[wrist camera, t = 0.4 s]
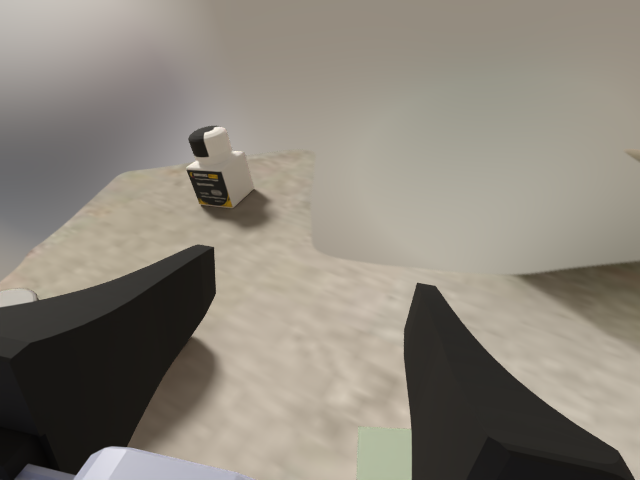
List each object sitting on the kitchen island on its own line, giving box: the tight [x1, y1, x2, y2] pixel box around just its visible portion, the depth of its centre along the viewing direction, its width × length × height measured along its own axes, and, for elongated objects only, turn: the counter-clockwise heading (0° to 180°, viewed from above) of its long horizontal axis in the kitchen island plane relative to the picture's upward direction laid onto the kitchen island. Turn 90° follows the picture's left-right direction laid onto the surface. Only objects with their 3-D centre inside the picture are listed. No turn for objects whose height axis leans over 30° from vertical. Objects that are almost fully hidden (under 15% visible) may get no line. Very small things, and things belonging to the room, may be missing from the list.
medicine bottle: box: [186, 126, 254, 208], centre depth 61 cm, size 7×7×12 cm
